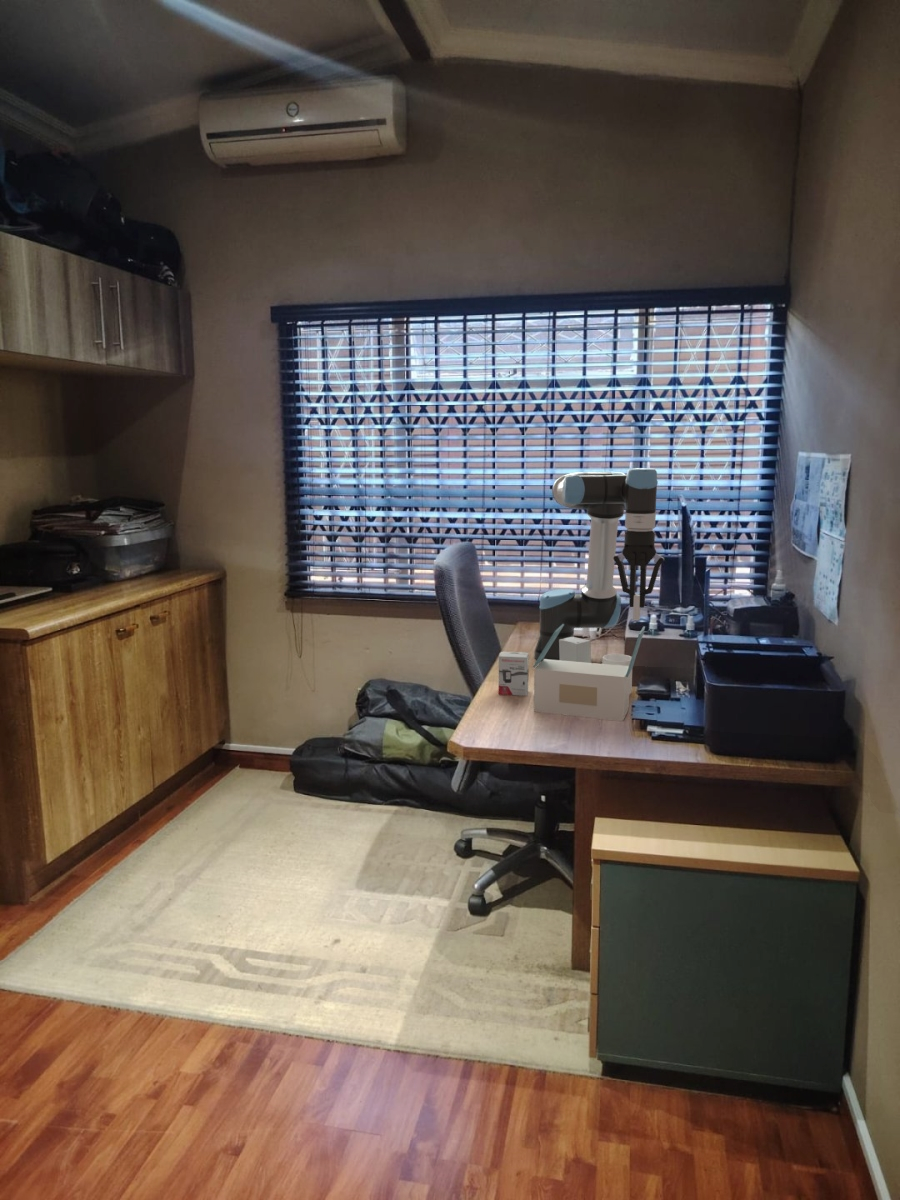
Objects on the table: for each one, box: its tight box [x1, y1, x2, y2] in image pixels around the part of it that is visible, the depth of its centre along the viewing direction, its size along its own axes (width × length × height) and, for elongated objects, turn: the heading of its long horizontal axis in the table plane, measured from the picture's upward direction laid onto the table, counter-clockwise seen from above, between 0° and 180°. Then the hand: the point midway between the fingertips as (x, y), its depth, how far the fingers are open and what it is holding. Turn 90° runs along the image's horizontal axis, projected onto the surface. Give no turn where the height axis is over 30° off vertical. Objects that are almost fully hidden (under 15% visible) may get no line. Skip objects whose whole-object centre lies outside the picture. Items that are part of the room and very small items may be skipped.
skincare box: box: [559, 636, 592, 663], centre depth 231 cm, size 8×6×15 cm
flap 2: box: [626, 625, 646, 677], centre depth 204 cm, size 12×10×1 cm
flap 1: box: [532, 624, 564, 669], centre depth 212 cm, size 12×10×1 cm
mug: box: [601, 653, 633, 696], centre depth 224 cm, size 9×12×11 cm
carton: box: [533, 659, 630, 722], centre depth 211 cm, size 11×24×12 cm, turn 69°
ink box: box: [497, 651, 530, 697], centre depth 227 cm, size 9×5×12 cm, turn 79°
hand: (636, 619), depth 202 cm, fingers closed
